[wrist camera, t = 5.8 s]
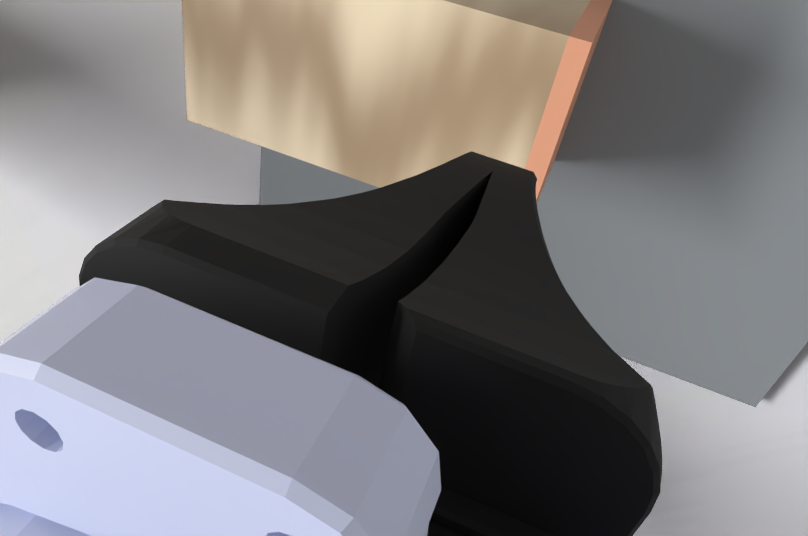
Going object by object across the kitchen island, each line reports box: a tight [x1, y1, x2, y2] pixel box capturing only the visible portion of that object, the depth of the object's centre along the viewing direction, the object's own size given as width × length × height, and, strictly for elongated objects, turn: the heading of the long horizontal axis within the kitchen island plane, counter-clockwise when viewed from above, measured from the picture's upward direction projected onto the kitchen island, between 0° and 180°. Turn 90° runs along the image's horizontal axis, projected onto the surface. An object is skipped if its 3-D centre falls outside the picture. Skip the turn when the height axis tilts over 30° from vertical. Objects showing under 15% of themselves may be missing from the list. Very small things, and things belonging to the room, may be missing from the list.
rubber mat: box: [259, 0, 808, 407], centre depth 18 cm, size 18×20×1 cm
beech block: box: [182, 0, 612, 202], centre depth 17 cm, size 5×5×10 cm
